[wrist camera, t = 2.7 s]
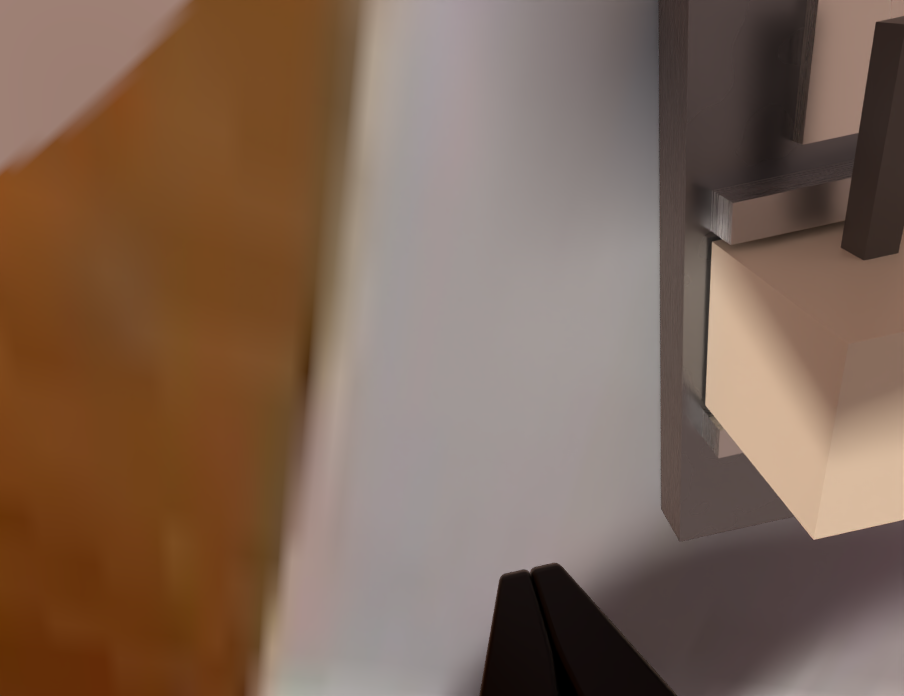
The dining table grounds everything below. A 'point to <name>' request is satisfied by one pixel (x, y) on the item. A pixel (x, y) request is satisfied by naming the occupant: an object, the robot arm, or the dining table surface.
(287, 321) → the dining table surface
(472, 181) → the dining table surface
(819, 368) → the cube with stick handle
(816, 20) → the bench gauge
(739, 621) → the dining table surface
